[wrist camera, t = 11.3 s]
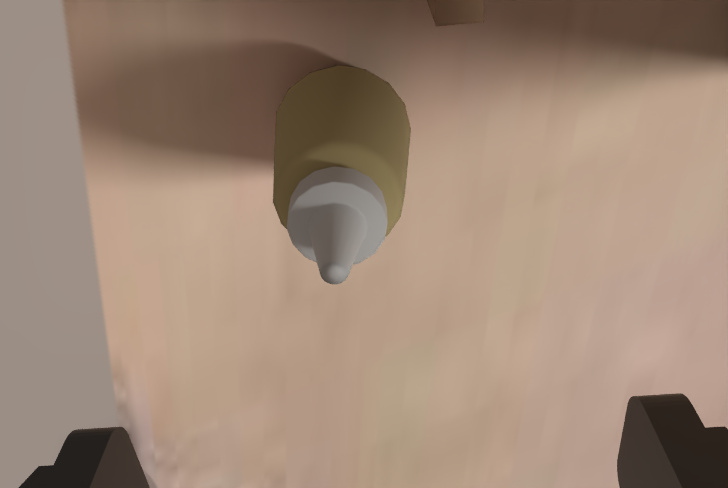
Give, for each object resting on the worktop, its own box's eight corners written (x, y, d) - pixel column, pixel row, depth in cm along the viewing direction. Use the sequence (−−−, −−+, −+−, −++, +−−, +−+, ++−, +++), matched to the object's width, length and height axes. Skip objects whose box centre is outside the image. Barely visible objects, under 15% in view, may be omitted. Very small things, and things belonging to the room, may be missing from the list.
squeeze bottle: (318, 184, 45) (296, 369, 30) (256, 81, 42) (196, 234, 26) (426, 136, 44) (461, 308, 28) (373, 23, 40) (381, 153, 24)
